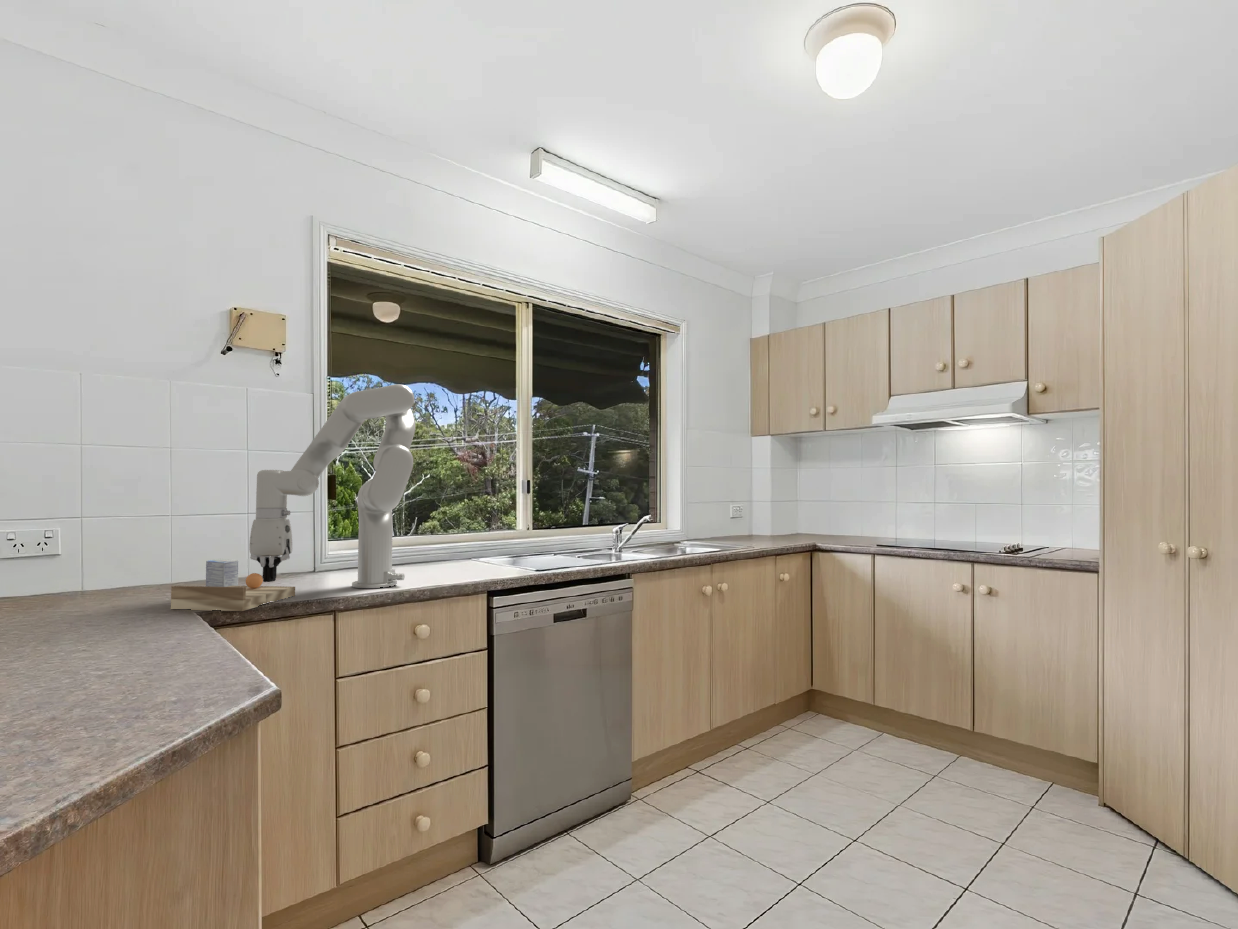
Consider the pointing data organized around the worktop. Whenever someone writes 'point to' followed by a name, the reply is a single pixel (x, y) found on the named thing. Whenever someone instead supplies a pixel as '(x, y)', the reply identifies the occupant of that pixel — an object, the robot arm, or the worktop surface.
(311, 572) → the worktop surface
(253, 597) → the board
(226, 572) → the medicine box
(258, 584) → the ball
